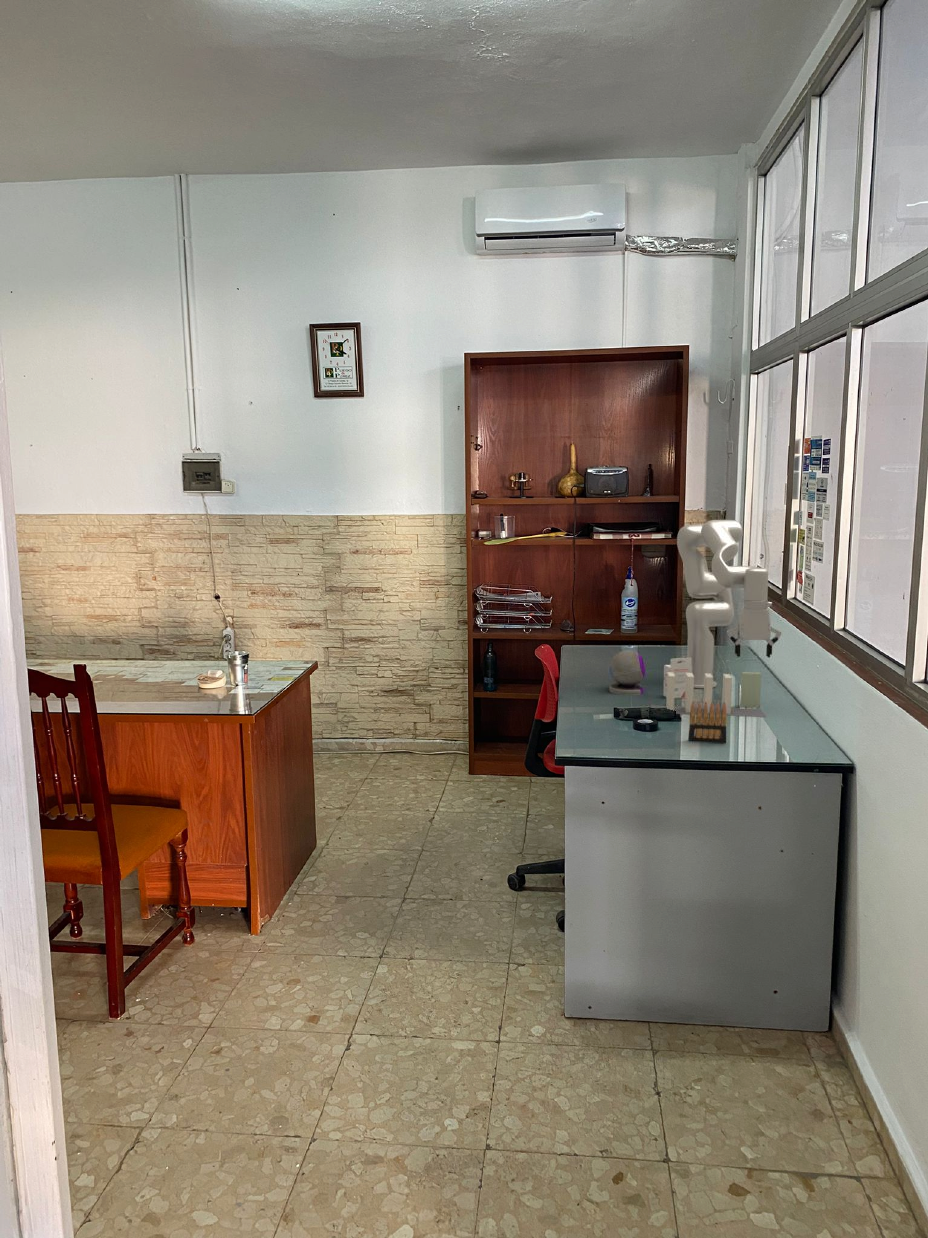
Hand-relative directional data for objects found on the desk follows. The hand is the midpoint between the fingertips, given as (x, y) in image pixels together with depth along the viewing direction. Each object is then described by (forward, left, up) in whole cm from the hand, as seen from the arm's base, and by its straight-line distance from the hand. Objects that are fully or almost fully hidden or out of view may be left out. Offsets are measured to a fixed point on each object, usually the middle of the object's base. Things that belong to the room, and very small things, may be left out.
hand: (753, 656), depth 302 cm
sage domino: (-1, 0, -18) cm, 18 cm away
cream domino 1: (+9, -27, -17) cm, 33 cm away
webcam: (-20, -40, -18) cm, 48 cm away
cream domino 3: (+9, -15, -17) cm, 24 cm away
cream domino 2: (+8, -21, -17) cm, 29 cm away
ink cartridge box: (-11, -23, -18) cm, 31 cm away
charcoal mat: (+8, -15, -18) cm, 25 cm away
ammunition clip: (+43, -19, -18) cm, 50 cm away
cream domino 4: (+8, -9, -17) cm, 21 cm away
